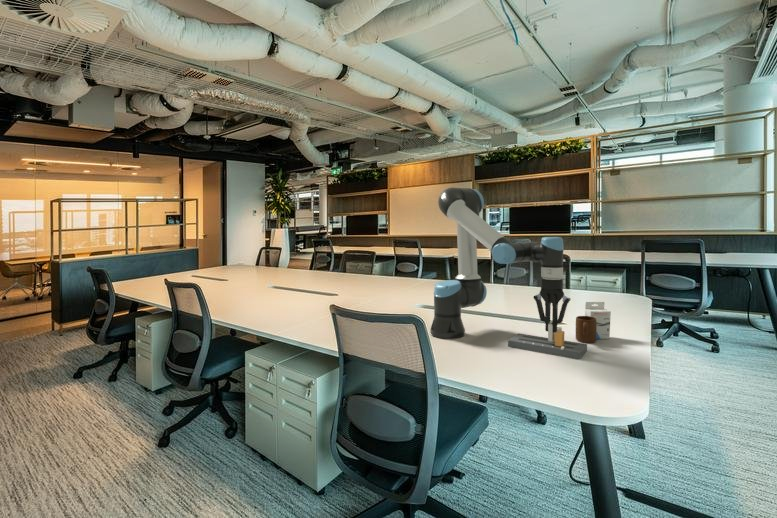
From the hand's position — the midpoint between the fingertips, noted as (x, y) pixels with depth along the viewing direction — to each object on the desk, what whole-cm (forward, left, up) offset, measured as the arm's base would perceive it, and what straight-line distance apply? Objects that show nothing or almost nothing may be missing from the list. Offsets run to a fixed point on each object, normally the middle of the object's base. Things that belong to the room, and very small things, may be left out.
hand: (551, 340), depth 145 cm
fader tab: (+3, 0, -1) cm, 3 cm away
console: (-2, +2, -4) cm, 5 cm away
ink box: (+11, +29, -4) cm, 31 cm away
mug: (+8, +19, -4) cm, 21 cm away
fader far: (+1, +5, -1) cm, 5 cm away
